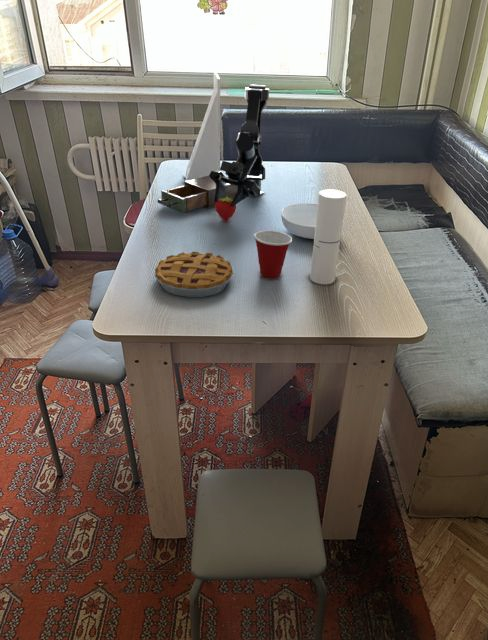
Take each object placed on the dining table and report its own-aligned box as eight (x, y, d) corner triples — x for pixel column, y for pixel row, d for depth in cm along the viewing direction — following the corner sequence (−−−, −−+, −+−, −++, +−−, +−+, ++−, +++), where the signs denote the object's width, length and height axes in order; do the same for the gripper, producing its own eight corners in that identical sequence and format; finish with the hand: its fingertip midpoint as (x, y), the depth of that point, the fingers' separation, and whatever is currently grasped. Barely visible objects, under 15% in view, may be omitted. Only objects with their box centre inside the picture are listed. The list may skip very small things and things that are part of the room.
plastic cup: (297, 275, 154) (300, 236, 148) (272, 286, 148) (274, 247, 141) (269, 262, 160) (271, 225, 153) (244, 273, 154) (245, 234, 147)
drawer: (174, 216, 186) (173, 202, 183) (152, 207, 192) (151, 193, 189) (214, 203, 198) (214, 190, 195) (193, 195, 204) (192, 182, 201)
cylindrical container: (327, 286, 149) (339, 200, 135) (305, 279, 152) (314, 194, 138) (338, 277, 154) (350, 193, 140) (317, 270, 157) (326, 187, 143)
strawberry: (214, 218, 188) (214, 190, 182) (236, 218, 189) (236, 190, 183) (214, 224, 183) (214, 196, 178) (236, 224, 184) (237, 196, 178)
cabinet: (208, 208, 196) (208, 190, 192) (185, 199, 203) (184, 181, 199) (238, 198, 206) (239, 181, 202) (215, 190, 213) (215, 173, 209)
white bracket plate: (183, 172, 230) (179, 69, 207) (216, 172, 232) (216, 70, 209) (185, 187, 214) (180, 77, 191) (220, 187, 216) (220, 78, 193)
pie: (163, 262, 157) (162, 246, 155) (236, 266, 157) (236, 250, 155) (147, 298, 140) (146, 281, 137) (230, 302, 140) (230, 285, 137)
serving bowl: (267, 232, 180) (268, 212, 176) (305, 217, 193) (307, 199, 189) (315, 251, 168) (317, 231, 164) (352, 234, 181) (355, 215, 177)
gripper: (212, 145, 180) (191, 185, 178) (256, 156, 171) (234, 198, 170) (226, 164, 189) (206, 202, 188) (268, 175, 181) (248, 215, 180)
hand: (223, 204), depth 181 cm, fingers open, 7 cm apart
